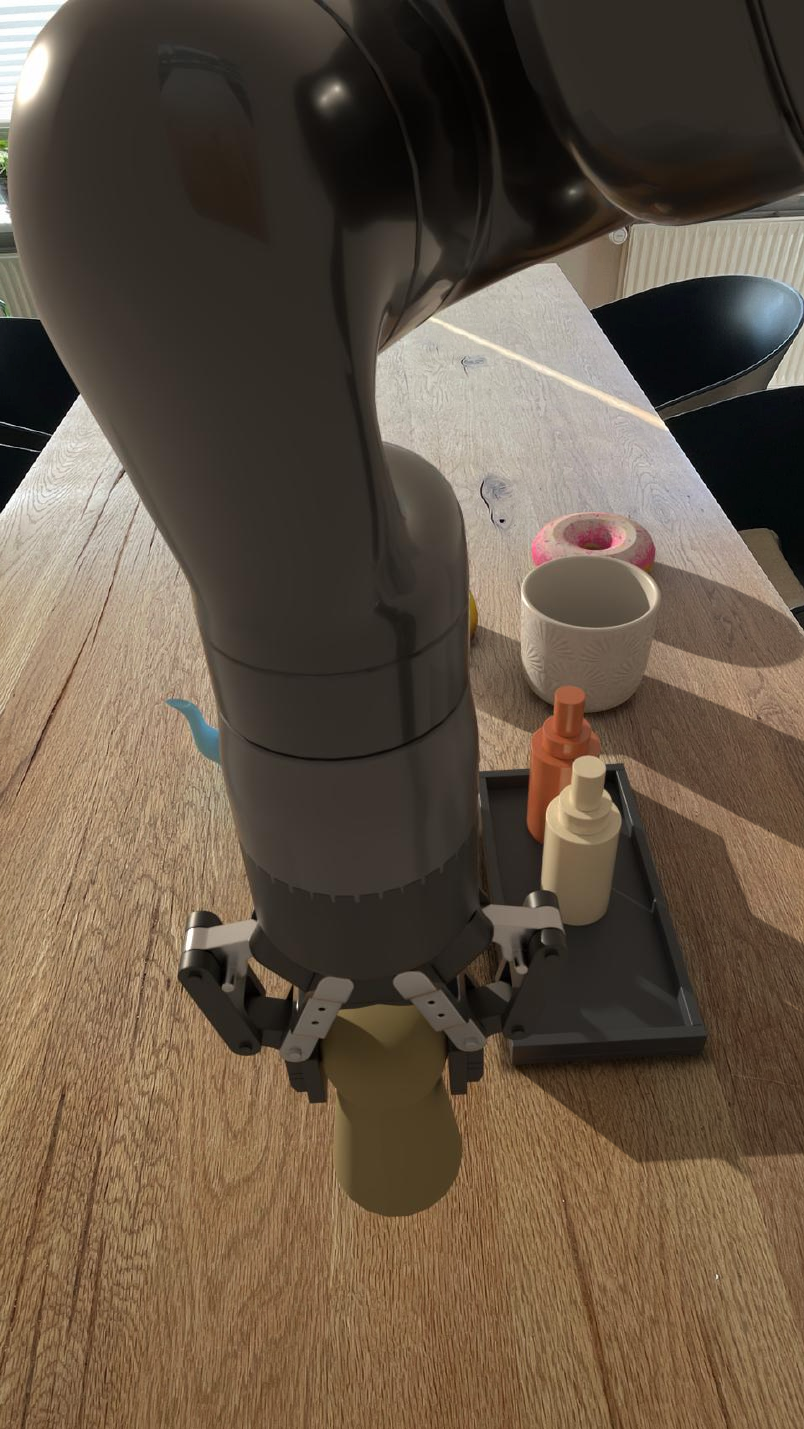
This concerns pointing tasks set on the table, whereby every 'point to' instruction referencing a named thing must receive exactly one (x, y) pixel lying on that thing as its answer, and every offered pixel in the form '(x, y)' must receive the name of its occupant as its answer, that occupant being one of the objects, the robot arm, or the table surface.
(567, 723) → the terracotta bottle
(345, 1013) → the pepper shaker
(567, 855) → the cream bottle
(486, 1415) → the table surface
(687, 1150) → the table surface
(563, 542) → the donut
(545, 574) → the planter
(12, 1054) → the table surface
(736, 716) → the table surface
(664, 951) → the tray
